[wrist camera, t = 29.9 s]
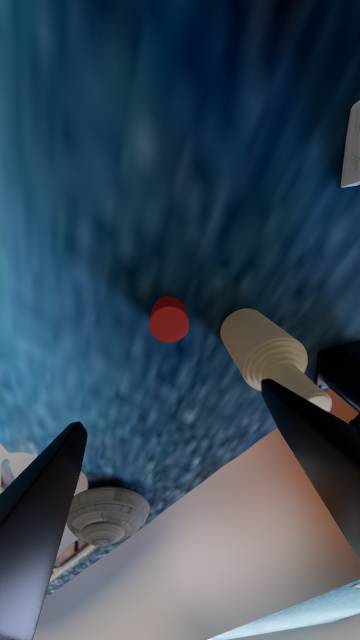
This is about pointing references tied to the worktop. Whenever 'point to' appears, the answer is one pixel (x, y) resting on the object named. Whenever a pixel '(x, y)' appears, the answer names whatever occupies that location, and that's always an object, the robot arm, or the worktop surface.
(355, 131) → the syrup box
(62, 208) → the worktop surface
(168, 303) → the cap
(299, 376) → the bottle
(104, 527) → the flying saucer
